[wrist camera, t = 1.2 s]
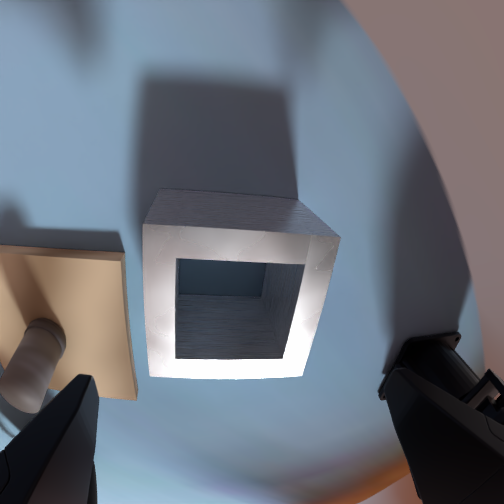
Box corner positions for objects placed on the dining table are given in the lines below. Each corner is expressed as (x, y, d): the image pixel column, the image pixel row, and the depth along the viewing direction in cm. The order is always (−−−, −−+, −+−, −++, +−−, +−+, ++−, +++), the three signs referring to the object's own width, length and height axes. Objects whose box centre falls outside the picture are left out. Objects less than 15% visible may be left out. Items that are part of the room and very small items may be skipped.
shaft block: (124, 252, 15) (93, 325, 9) (138, 389, 19) (130, 464, 13) (-26, 243, 13) (-85, 294, 7) (13, 370, 17) (-15, 431, 11)
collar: (298, 199, 15) (340, 237, 11) (276, 313, 18) (301, 375, 13) (160, 188, 14) (142, 223, 9) (158, 310, 16) (149, 376, 12)
